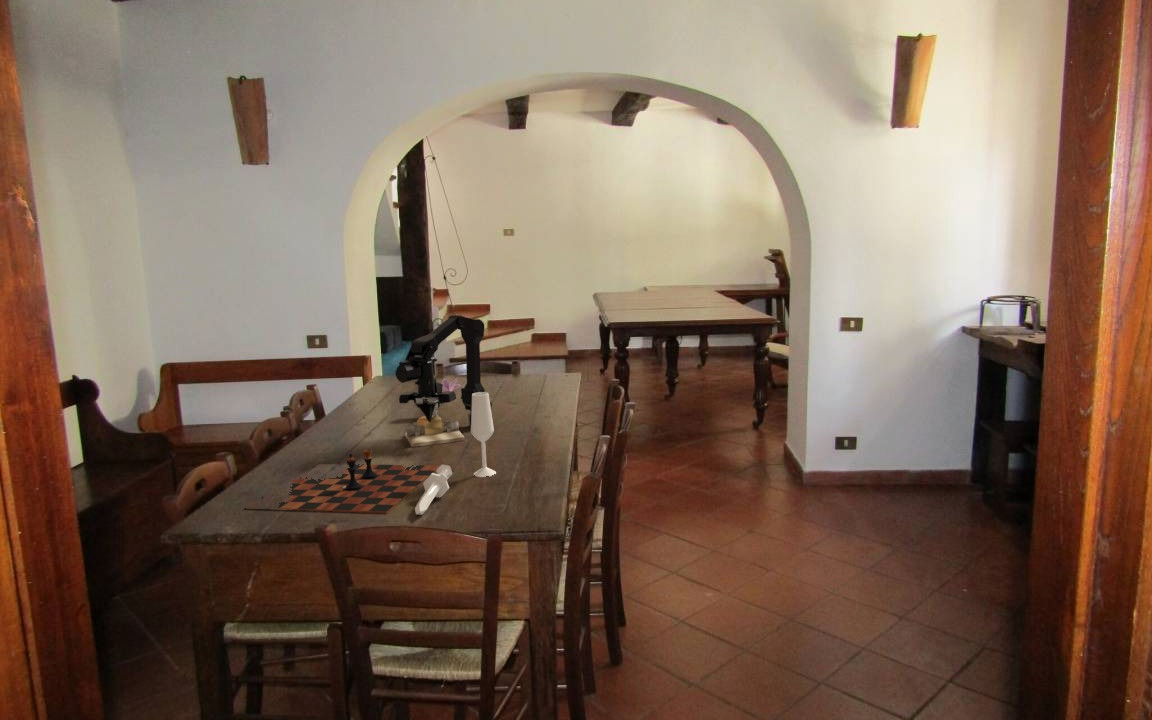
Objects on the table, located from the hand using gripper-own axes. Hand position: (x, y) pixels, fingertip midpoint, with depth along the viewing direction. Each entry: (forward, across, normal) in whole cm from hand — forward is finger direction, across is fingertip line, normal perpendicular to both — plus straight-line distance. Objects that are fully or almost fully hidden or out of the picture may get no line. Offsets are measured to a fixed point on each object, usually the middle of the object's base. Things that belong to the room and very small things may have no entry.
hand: (429, 422), depth 259 cm
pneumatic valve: (+7, +16, -34) cm, 38 cm away
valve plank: (+7, +2, -6) cm, 10 cm away
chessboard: (+8, +4, +45) cm, 46 cm away
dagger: (+8, -26, +53) cm, 59 cm away
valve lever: (0, +3, -4) cm, 4 cm away
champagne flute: (+9, -30, +28) cm, 43 cm away
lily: (+7, +23, -66) cm, 70 cm away
